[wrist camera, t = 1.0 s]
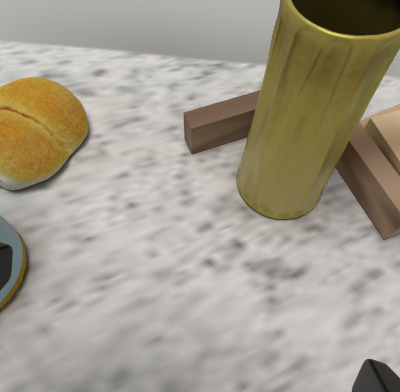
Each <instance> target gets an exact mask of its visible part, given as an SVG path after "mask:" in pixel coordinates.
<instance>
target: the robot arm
mask: <svg viewBox="0 0 400 392" xmlns="http://www.w3.org/2000/svg"><path fill="white" fill-rule="evenodd" d="M12 261H13V248H12V247H11V245H9V244H5V243H2V242H0V291H1V290H2V288H3V287H4V286H5V285H6V284H7V283H8V281H9V279H10V277H11V274H12ZM352 392H400V378H399V377H398V376H397V375H396V374H395V373H394V372H393V371H392V370H391V369H390V368H389V367H388V366H387V365H386V364H385V363H382V362H379V361H375V360H372V359H367V360H365V361H364V363H363V365H362V367H361V369H360V371H359V374H358V376H357V378H356V380H355V382H354V385H353V388H352Z"/></svg>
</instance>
